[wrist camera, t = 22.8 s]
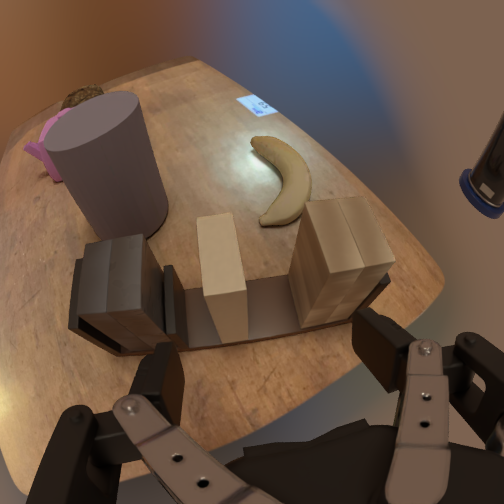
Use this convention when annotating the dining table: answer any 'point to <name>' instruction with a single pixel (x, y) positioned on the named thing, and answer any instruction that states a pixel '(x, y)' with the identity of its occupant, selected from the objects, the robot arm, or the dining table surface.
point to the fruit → (285, 180)
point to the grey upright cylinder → (109, 165)
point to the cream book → (223, 276)
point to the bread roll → (81, 96)
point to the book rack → (258, 291)
